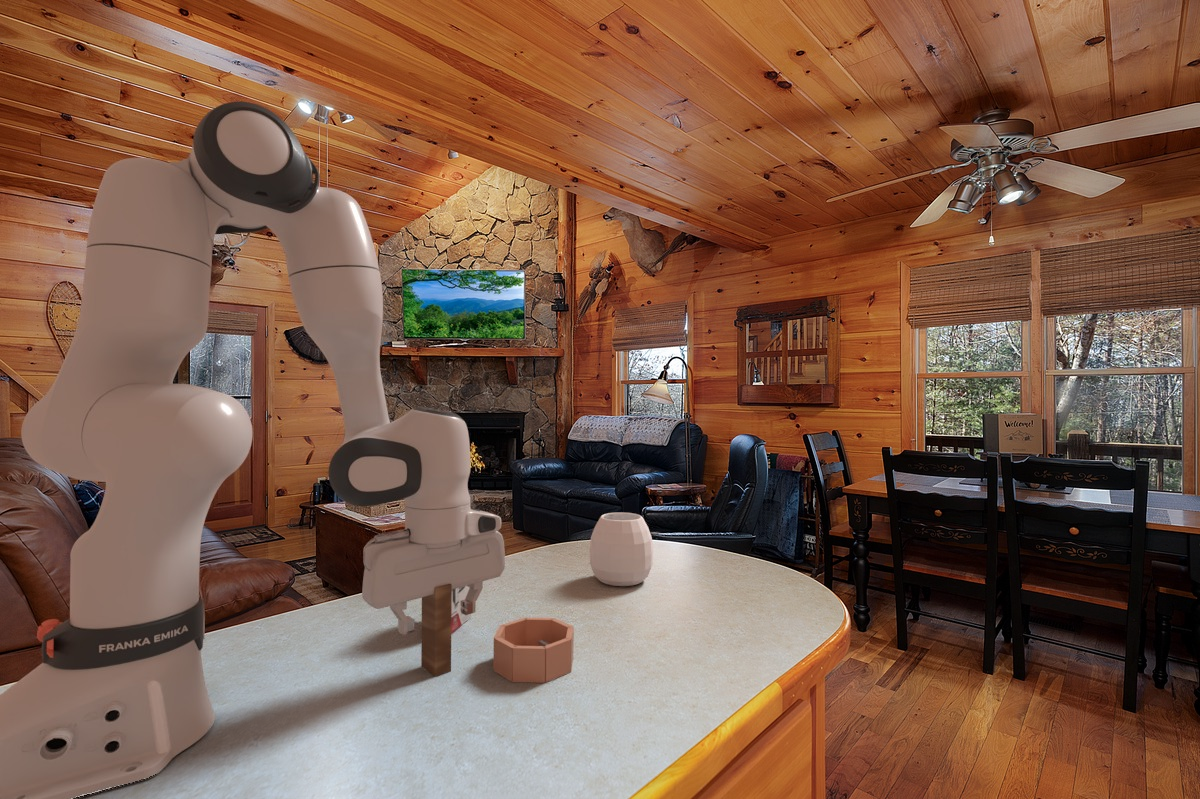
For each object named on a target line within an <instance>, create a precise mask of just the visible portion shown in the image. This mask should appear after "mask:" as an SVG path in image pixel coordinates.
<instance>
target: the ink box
mask: <svg viewBox="0 0 1200 799" xmlns="http://www.w3.org/2000/svg"><path fill="white" fill-rule="evenodd" d="M469 588H470V587H467V586H463V587H459V588H456V589H452V608H451V635H452V634H453V633H454V632H456V630H458V629H459V628H460V627H461V626H462V625H464V624H465V623H466V622H467V621H469V619H471V618H472V614H469V615H464V614H462V613H461V609H460V608H461V605H460V601H461V600H464V599H465V598H466V596H467V593H468V591H469Z"/></svg>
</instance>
